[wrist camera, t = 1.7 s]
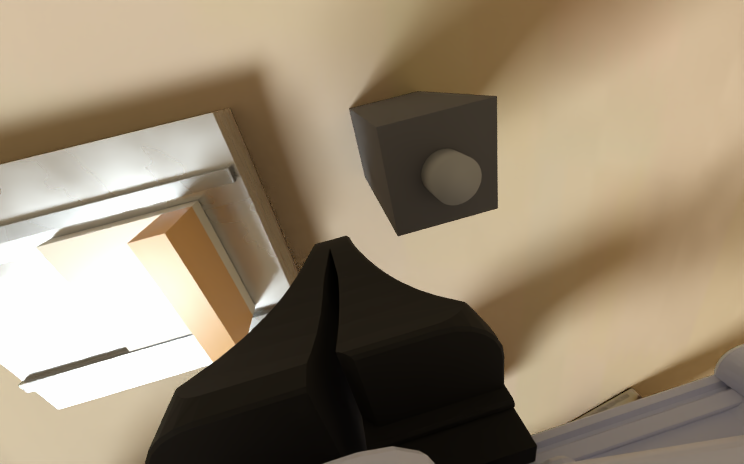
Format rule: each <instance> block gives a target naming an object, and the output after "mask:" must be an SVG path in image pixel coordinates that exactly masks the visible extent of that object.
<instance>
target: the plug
mask: <svg viewBox="0 0 744 464" xmlns="http://www.w3.org/2000/svg"><path fill="white" fill-rule="evenodd" d="M349 110H350V115H351V119H352V123H353V127H354V132H355V136H356V140H357V145H358V149H359V153H360V157H361V162H362V166H363V170H364V174H365V178H366V180H367V181H368V183H369V185H370V187H371V189H372V190H373V192H374V194H375V196H376V198H377V199H378V201H379V203H380V205H381V207H382V208H383V210H384V212H385V214H386V216H387V217H388V219H389V221H390V223H391V225H392V226H393V228H394V230H395V232H396V234H397V235H398V236H401V235H404V234H408V233H411V232H415V231H418V230H422V229H426V228H429V227H433V226H436V225H440V224H443V223H447V222H451V221H454V220H458V219H461V218H465V217H468V216H472V215H476V214H479V213H483V212H486V211H490V210H493V209H497V208H498V183H497V96H485V95H469V94H453V93H437V92H421V91H418V92H414V93H410V94H406V95H402V96H398V97H394V98H390V99H386V100H382V101H378V102H374V103H370V104H366V105H362V106H358V107H354V108H350V109H349Z"/></svg>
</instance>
